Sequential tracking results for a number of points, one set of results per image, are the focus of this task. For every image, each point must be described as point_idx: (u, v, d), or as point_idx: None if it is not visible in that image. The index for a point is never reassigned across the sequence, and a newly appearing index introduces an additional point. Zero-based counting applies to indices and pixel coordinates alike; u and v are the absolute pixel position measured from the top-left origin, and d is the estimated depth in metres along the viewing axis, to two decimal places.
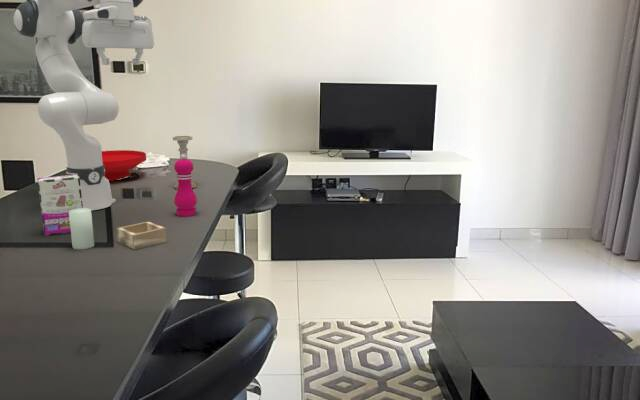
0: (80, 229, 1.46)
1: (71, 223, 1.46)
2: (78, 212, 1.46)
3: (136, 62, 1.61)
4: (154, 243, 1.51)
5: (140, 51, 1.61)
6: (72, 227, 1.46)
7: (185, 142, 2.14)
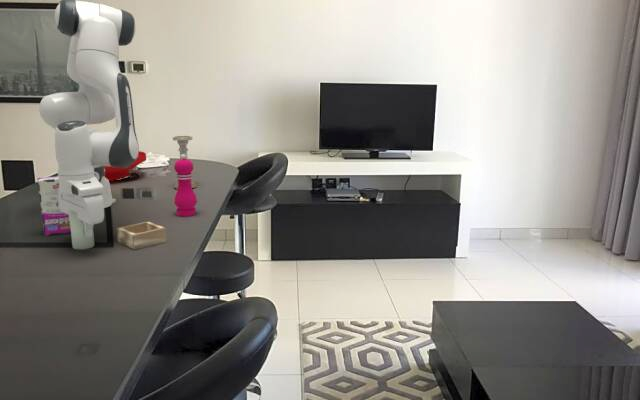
0: (80, 228, 1.46)
1: (71, 223, 1.46)
2: None
3: None
4: (154, 243, 1.51)
5: None
6: (72, 227, 1.46)
7: (185, 142, 2.14)
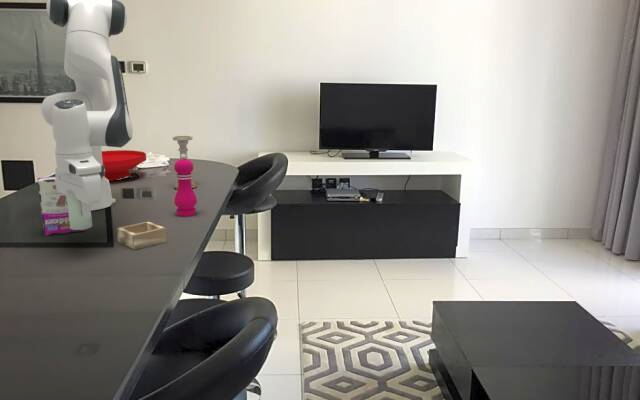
0: (77, 209, 1.45)
1: (69, 203, 1.45)
2: None
3: None
4: (154, 243, 1.51)
5: None
6: (70, 207, 1.45)
7: (185, 142, 2.14)
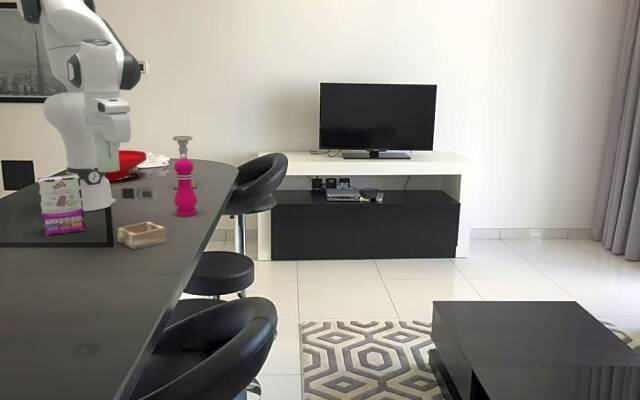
0: (106, 150, 1.43)
1: (97, 145, 1.43)
2: None
3: None
4: (154, 243, 1.51)
5: None
6: (98, 149, 1.43)
7: (185, 142, 2.14)
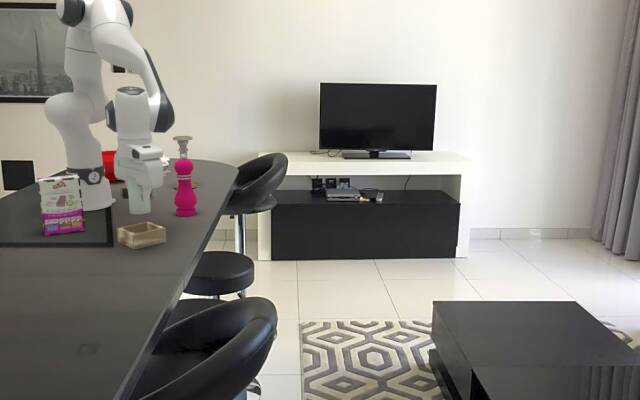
0: (138, 193, 1.48)
1: (129, 188, 1.48)
2: None
3: None
4: (154, 243, 1.51)
5: None
6: (130, 192, 1.48)
7: (185, 142, 2.14)
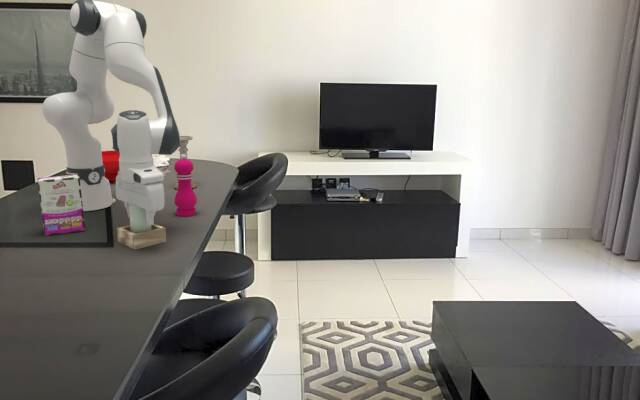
0: (140, 221, 1.50)
1: (131, 216, 1.50)
2: None
3: None
4: (154, 243, 1.51)
5: None
6: (132, 219, 1.50)
7: (185, 142, 2.14)
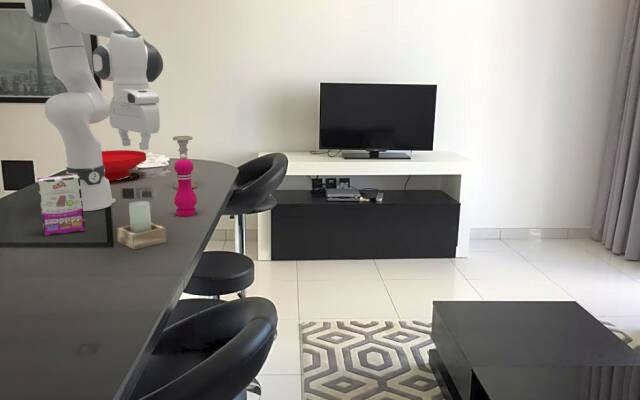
0: (140, 221, 1.50)
1: (131, 216, 1.50)
2: (138, 205, 1.49)
3: (129, 143, 1.51)
4: (154, 243, 1.51)
5: None
6: (132, 219, 1.50)
7: (185, 142, 2.14)
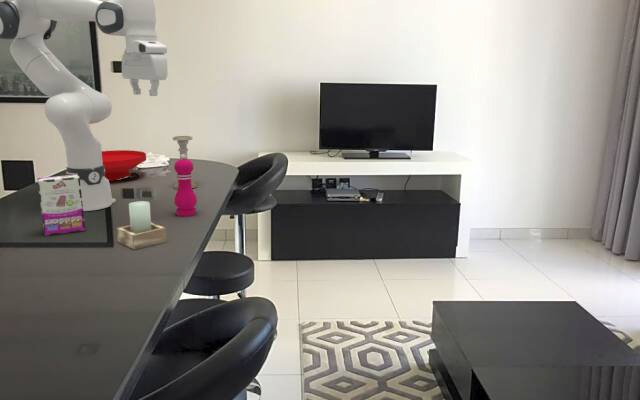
0: (140, 221, 1.50)
1: (131, 216, 1.50)
2: (138, 205, 1.49)
3: (140, 92, 1.67)
4: (154, 243, 1.51)
5: None
6: (132, 219, 1.50)
7: (185, 142, 2.14)
